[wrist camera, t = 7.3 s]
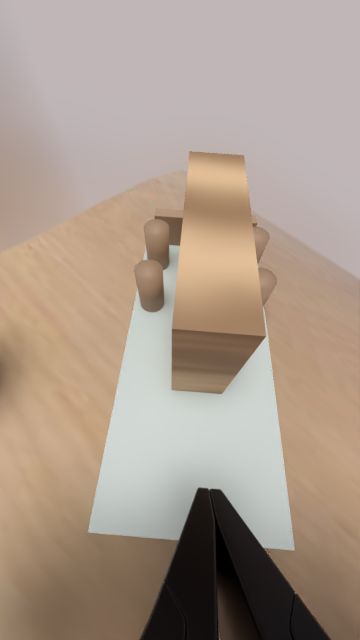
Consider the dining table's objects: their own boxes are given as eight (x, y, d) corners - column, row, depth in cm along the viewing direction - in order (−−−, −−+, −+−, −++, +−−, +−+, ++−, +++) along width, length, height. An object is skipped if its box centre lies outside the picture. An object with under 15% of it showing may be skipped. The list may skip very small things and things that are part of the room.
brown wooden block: (221, 394, 17) (266, 336, 9) (171, 390, 17) (171, 328, 9) (219, 257, 23) (243, 155, 15) (183, 254, 23) (189, 151, 15)
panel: (288, 545, 13) (341, 584, 9) (91, 528, 13) (56, 559, 9) (253, 250, 25) (270, 208, 21) (148, 242, 25) (144, 199, 21)
